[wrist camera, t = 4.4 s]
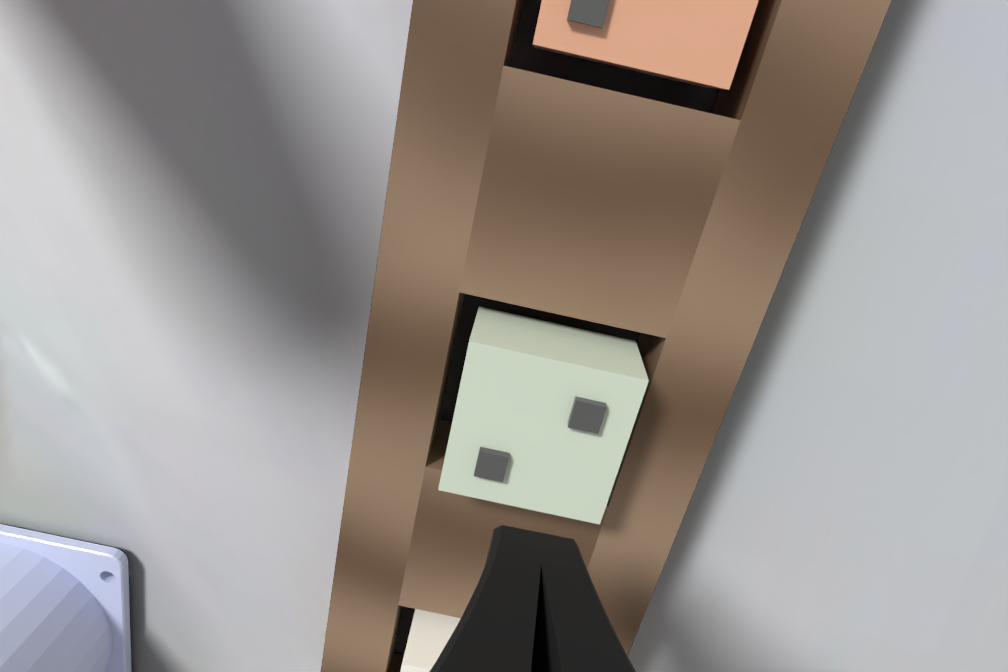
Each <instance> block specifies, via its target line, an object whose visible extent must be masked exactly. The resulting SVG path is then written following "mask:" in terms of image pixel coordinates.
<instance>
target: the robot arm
mask: <svg viewBox="0 0 1008 672" xmlns="http://www.w3.org/2000/svg"><path fill="white" fill-rule="evenodd" d="M0 672H131V640H130V607H129V573H128V559H127V556H126V555H125V554H124V553H123V552H122V551H121V550H119V549H116V548H113V547H108V546H104V545H99V544H94V543H89V542H84V541H80V540H75V539H70V538H65V537H61V536H56V535H51V534H46V533H41V532H37V531H32V530H27V529H22V528H17V527H13V526H8V525H3V524H0ZM430 672H635V670H634V668H633V666H632V664H631V662H630V660H629V658H628V656H627V654H626V652H625V650H624V648H623V646H622V644H621V642H620V640H619V638H618V636H617V634H616V632H615V630H614V628H613V626H612V624H611V622H610V620H609V618H608V616H607V614H606V612H605V609H604V607H603V605H602V603H601V601H600V598H599V596H598V594H597V592H596V589H595V587H594V585H593V582H592V580H591V578H590V575H589V573H588V570H587V568H586V565H585V563H584V560H583V558H582V555H581V553H580V550H579V547H578V545H577V544H576V542H575V541H574V539H571V538H566V537H560V536H555V535H550V534H545V533H540V532H535V531H530V530H525V529H520V528H515V527H510V526H505V525H501V526H499V527H497V528H495V529H494V530H493V535H492V539H491V543H490V547H489V551H488V555H487V560H486V564H485V567H484V570H483V572H482V575H481V577H480V580H479V582H478V584H477V586H476V589H475V591H474V593H473V595H472V597H471V599H470V601H469V603H468V605H467V607H466V609H465V611H464V613H463V615H462V617H461V619H460V621H459V623H458V625H457V626H456V628H455V630H454V632H453V633H452V635H451V637H450V638H449V640H448V642H447V644H446V645H445V647H444V649H443V650H442V652H441V654H440V656H439V657H438V659H437V661H436V662H435V664H434V666H433V667H432V669H431V670H430Z"/></svg>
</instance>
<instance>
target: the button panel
mask: <svg viewBox="0 0 1008 672" xmlns="http://www.w3.org/2000/svg"><path fill="white" fill-rule="evenodd" d="M522 3H523V0H413V5H412V12H411V20H410V27H409V34H408V41H407V49H406V56H405V63H404V70H403V78H402V85H401V92H400V100H399V107H398V114H397V121H396V129H395V136H394V143H393V150H392V158H391V165H390V172H389V179H388V187H387V194H386V201H385V208H384V216H383V223H382V230H381V238H380V245H379V252H378V259H377V267H376V274H375V281H374V288H373V296H372V303H371V310H370V317H369V325H368V332H367V339H366V347H365V354H364V361H363V368H362V376H361V383H360V390H359V397H358V405H357V412H356V419H355V426H354V434H353V441H352V448H351V455H350V463H349V470H348V477H347V485H346V492H345V499H344V506H343V514H342V521H341V528H340V535H339V543H338V550H337V557H336V564H335V572H334V579H333V586H332V593H331V601H330V608H329V615H328V623H327V630H326V637H325V644H324V652H323V659H322V666H321V672H400V670H401V666H402V661H403V657H404V655H401V654H396V653H394V648H395V643H396V637H397V632H398V627H399V622H400V617H401V612H402V607H403V606H405V607H409V608H414V609H419V610H424V611H429V612H433V613H438V614H443V615H448V616H452V617H457V618H461V617H462V615H463V613H464V611H465V609H466V607H467V605H468V603H469V601H470V599H471V597H472V595H473V593H474V591H475V589H476V586H477V584H478V582H479V580H480V577H481V575H482V572H483V570H484V567H485V564H486V560H487V555H488V551H489V547H490V543H491V539H492V535H493V530H494V529H495V528H497V527H499V526H501V525H505V526H510V527H515V528H520V529H525V530H530V531H535V532H540V533H545V534H550V535H555V536H560V537H566V538H571V539H574V541H575V542H576V544H577V545H578V547H579V550H580V553H581V555H582V558H583V560H584V563H585V565H586V568H587V570H588V573H589V575H590V578H591V580H592V582H593V585H594V587H595V589H596V592H597V594H598V596H599V598H600V601H601V603H602V605H603V607H604V609H605V612H606V614H607V616H608V618H609V620H610V622H611V624H612V626H613V628H614V630H615V632H616V634H617V636H618V638H619V640H620V642H621V644H622V646H623V648H624V650H625V652H626V654H627V656H628V653H629V651H630V648H631V646H632V643H633V641H634V638H635V636H636V633H637V631H638V628H639V626H640V623H641V621H642V618H643V616H644V614H645V611H646V609H647V606H648V604H649V601H650V599H651V596H652V594H653V591H654V589H655V586H656V584H657V581H658V579H659V576H660V574H661V571H662V569H663V566H664V564H665V561H666V559H667V556H668V554H669V551H670V549H671V546H672V544H673V542H674V539H675V537H676V534H677V532H678V529H679V527H680V524H681V522H682V519H683V517H684V514H685V512H686V509H687V507H688V504H689V502H690V499H691V497H692V494H693V492H694V489H695V487H696V484H697V482H698V479H699V477H700V475H701V472H702V470H703V467H704V465H705V462H706V460H707V457H708V455H709V452H710V450H711V447H712V445H713V442H714V440H715V437H716V435H717V432H718V430H719V427H720V425H721V422H722V420H723V417H724V415H725V412H726V410H727V408H728V405H729V403H730V400H731V398H732V395H733V393H734V390H735V388H736V385H737V383H738V380H739V378H740V375H741V373H742V370H743V368H744V365H745V363H746V360H747V358H748V355H749V353H750V350H751V348H752V345H753V343H754V340H755V338H756V336H757V333H758V331H759V328H760V326H761V323H762V321H763V318H764V316H765V313H766V311H767V308H768V306H769V303H770V301H771V298H772V296H773V293H774V291H775V288H776V286H777V283H778V281H779V278H780V276H781V273H782V271H783V269H784V266H785V264H786V261H787V259H788V256H789V254H790V251H791V249H792V246H793V244H794V241H795V239H796V236H797V234H798V231H799V229H800V226H801V224H802V221H803V219H804V216H805V214H806V211H807V209H808V206H809V204H810V202H811V199H812V197H813V194H814V192H815V189H816V187H817V184H818V182H819V179H820V177H821V174H822V172H823V169H824V167H825V164H826V162H827V159H828V157H829V154H830V152H831V149H832V147H833V144H834V142H835V139H836V137H837V134H838V132H839V130H840V127H841V125H842V122H843V120H844V117H845V115H846V112H847V110H848V107H849V105H850V102H851V100H852V97H853V95H854V92H855V90H856V87H857V85H858V82H859V80H860V77H861V75H862V72H863V70H864V67H865V65H866V63H867V60H868V58H869V55H870V53H871V50H872V48H873V45H874V43H875V40H876V38H877V35H878V33H879V30H880V28H881V25H882V23H883V20H884V18H885V15H886V13H887V10H888V8H889V5H890V3H891V0H759V1H758V4H757V7H756V10H755V13H754V16H753V19H752V22H751V25H750V28H749V31H748V34H747V38H746V41H745V44H744V47H743V50H742V53H741V56H740V59H739V62H738V65H737V68H736V71H735V74H734V77H733V80H732V83H731V86H730V89H729V90H727V89H719V92H718V95H717V98H716V101H715V104H714V107H713V110H712V113H710V112H706V111H702V110H697V109H693V108H689V107H684V106H680V105H676V104H671V103H667V102H663V101H658V100H654V99H650V98H645V97H641V96H637V95H632V94H628V93H624V92H619V91H615V90H611V89H606V88H602V87H598V86H593V85H589V84H585V83H580V82H576V81H572V80H567V79H563V78H559V77H554V76H550V75H546V74H541V73H537V72H533V71H528V70H524V69H520V68H515V67H511V66H510V63H511V58H512V53H513V48H514V43H515V38H516V33H517V28H518V23H519V18H520V13H521V8H522ZM465 294H469V295H473V296H478V297H482V298H487V299H491V300H496V301H500V302H505V303H509V304H514V305H518V306H523V307H528V308H532V309H537V310H541V311H546V312H550V313H555V314H559V315H564V316H568V317H573V318H577V319H582V320H586V321H591V322H595V323H600V324H604V325H609V326H613V327H618V328H622V329H627V330H631V331H636V332H640V336H639V339H638V342H637V346H638V349H639V352H640V355H641V358H642V361H643V364H644V367H645V371H646V374H647V377H648V380H649V382H648V385H647V388H646V391H645V393H644V396H643V399H642V402H641V405H640V408H639V411H638V414H637V417H636V420H635V423H634V426H633V429H632V432H631V435H630V438H629V441H628V443H627V446H626V449H625V452H624V455H623V458H622V461H621V464H620V467H619V470H618V473H617V476H616V479H615V482H614V485H613V488H612V491H611V493H610V496H609V499H608V502H607V505H606V508H605V511H604V514H603V517H602V520H601V523H600V525H599V524H595V523H590V522H585V521H581V520H576V519H571V518H567V517H562V516H557V515H553V514H548V513H543V512H538V511H534V510H529V509H524V508H520V507H515V506H510V505H506V504H501V503H496V502H492V501H487V500H482V499H478V498H473V497H468V496H464V495H459V494H454V493H450V492H445V491H440V490H438V488H439V483H440V478H441V473H442V468H443V464H444V459H445V454H446V449H447V444H448V440H449V435H450V430H451V425H452V422H451V421H446V420H441V419H440V416H441V411H442V406H443V401H444V396H445V391H446V386H447V381H448V376H449V371H450V366H451V361H452V356H453V350H454V345H455V340H456V335H457V330H458V325H459V320H460V315H461V310H462V305H463V300H464V295H465Z"/></svg>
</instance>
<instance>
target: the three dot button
mask: <svg viewBox="0 0 1008 672" xmlns="http://www.w3.org/2000/svg"><path fill="white" fill-rule="evenodd" d="M758 1H759V0H542V2H541V6H540V11H539V16H538V21H537V26H536V30H535V35H534V40H533V46H534V48H538V49H542V50H546V51H550V52H555V53H559V54H563V55H568V56H572V57H576V58H581V59H585V60H589V61H594V62H598V63H602V64H607V65H611V66H615V67H619V68H624V69H628V70H632V71H637V72H641V73H645V74H650V75H654V76H658V77H663V78H667V79H671V80H676V81H680V82H684V83H689V84H693V85H697V86H701V87H708V88H717V89H727V90H729V89H730V86H731V83H732V80H733V77H734V74H735V71H736V68H737V65H738V62H739V59H740V56H741V53H742V50H743V47H744V44H745V41H746V38H747V34H748V31H749V28H750V25H751V22H752V19H753V16H754V13H755V10H756V7H757V4H758Z"/></svg>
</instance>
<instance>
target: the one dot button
mask: <svg viewBox="0 0 1008 672" xmlns="http://www.w3.org/2000/svg"><path fill="white" fill-rule="evenodd" d="M460 619H461V618H457V617H452V616H448V615H443V614H438V613H433V612H429V611H424V610H419V609H415V612H414V616H413V620H412V624H411V628H410V633H409V637H408V641H407V645H406V649H405V653H404V657H403V661H402V666H401V670H400V672H430V670H431V669H432V667H433V666H434V664H435V662H436V661H437V659H438V657H439V656H440V654H441V652H442V650H443V649H444V647H445V645H446V644H447V642H448V640H449V638H450V637H451V635H452V633H453V632H454V630H455V628H456V626H457V625H458V623H459V621H460Z"/></svg>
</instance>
